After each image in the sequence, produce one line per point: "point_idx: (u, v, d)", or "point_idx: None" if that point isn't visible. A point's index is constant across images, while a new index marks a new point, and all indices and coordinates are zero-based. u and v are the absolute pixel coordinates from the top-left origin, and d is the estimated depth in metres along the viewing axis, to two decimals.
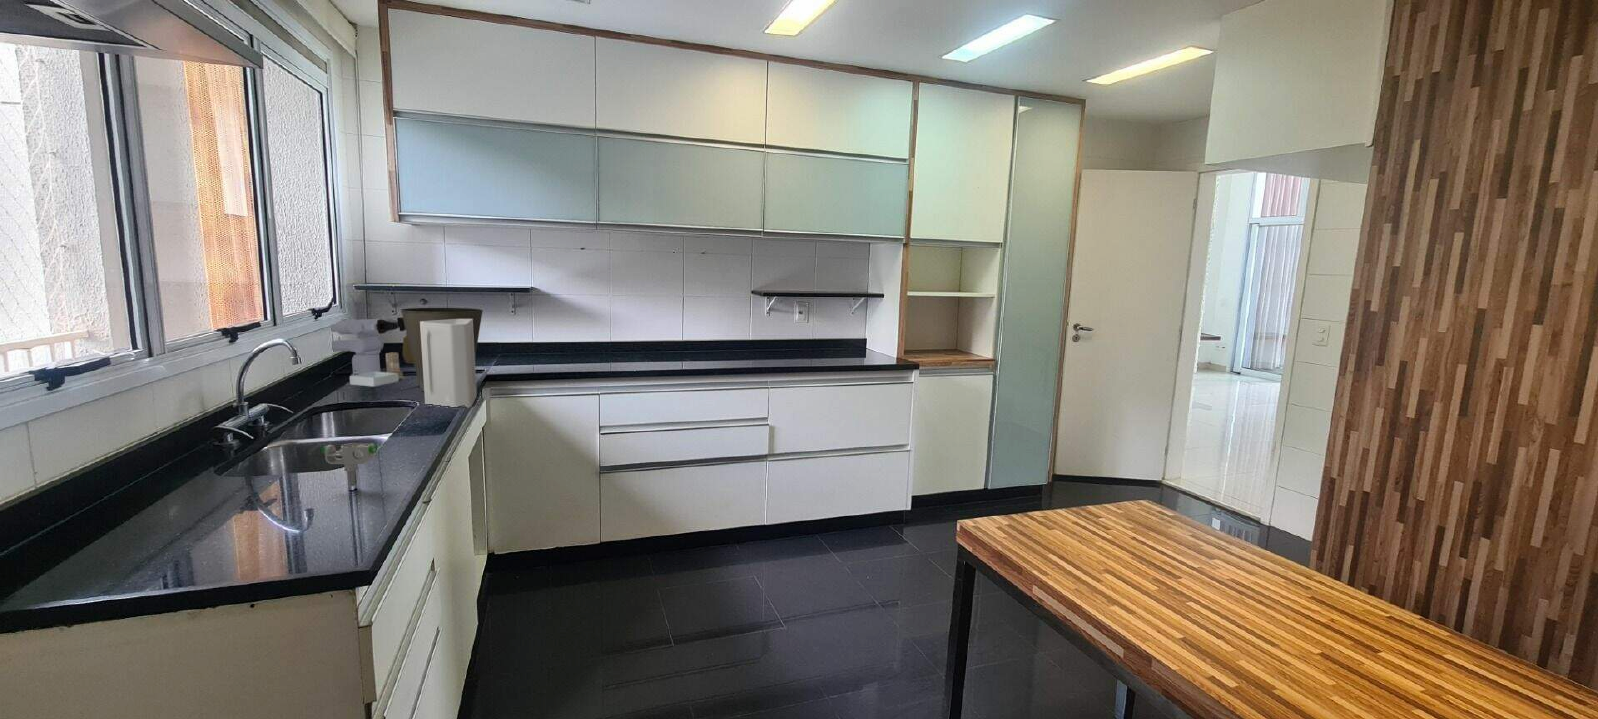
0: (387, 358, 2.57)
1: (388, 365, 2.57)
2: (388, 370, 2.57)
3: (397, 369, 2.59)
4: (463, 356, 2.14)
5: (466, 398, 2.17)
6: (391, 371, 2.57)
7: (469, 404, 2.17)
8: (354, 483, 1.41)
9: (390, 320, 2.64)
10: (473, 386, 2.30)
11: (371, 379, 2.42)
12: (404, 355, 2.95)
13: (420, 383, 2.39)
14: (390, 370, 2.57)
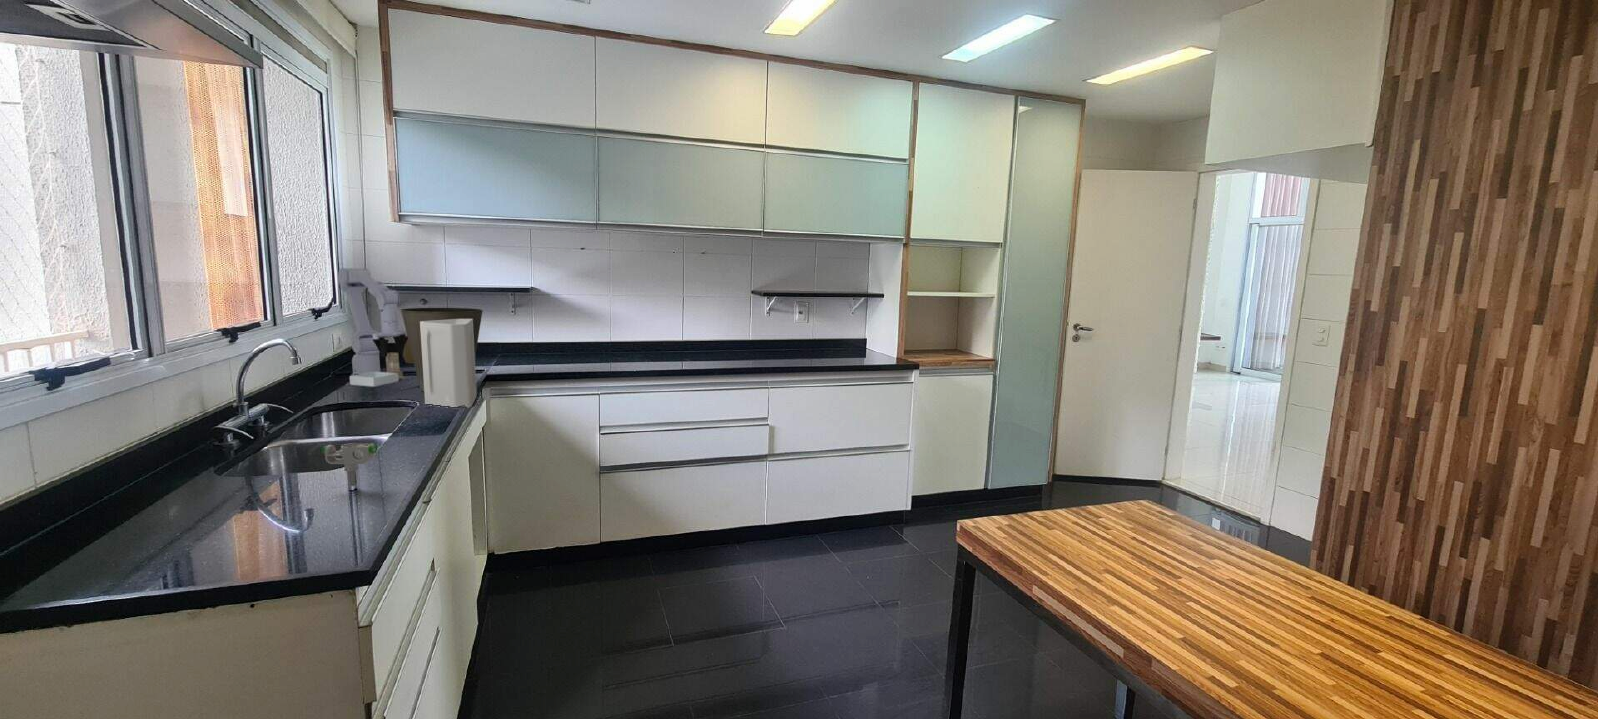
0: (387, 358, 2.57)
1: (388, 365, 2.57)
2: (388, 370, 2.57)
3: (397, 369, 2.59)
4: (463, 356, 2.14)
5: (466, 398, 2.17)
6: (391, 371, 2.57)
7: (469, 404, 2.17)
8: (354, 483, 1.41)
9: None
10: (473, 386, 2.30)
11: (371, 379, 2.42)
12: (404, 355, 2.95)
13: (420, 383, 2.39)
14: (390, 370, 2.57)
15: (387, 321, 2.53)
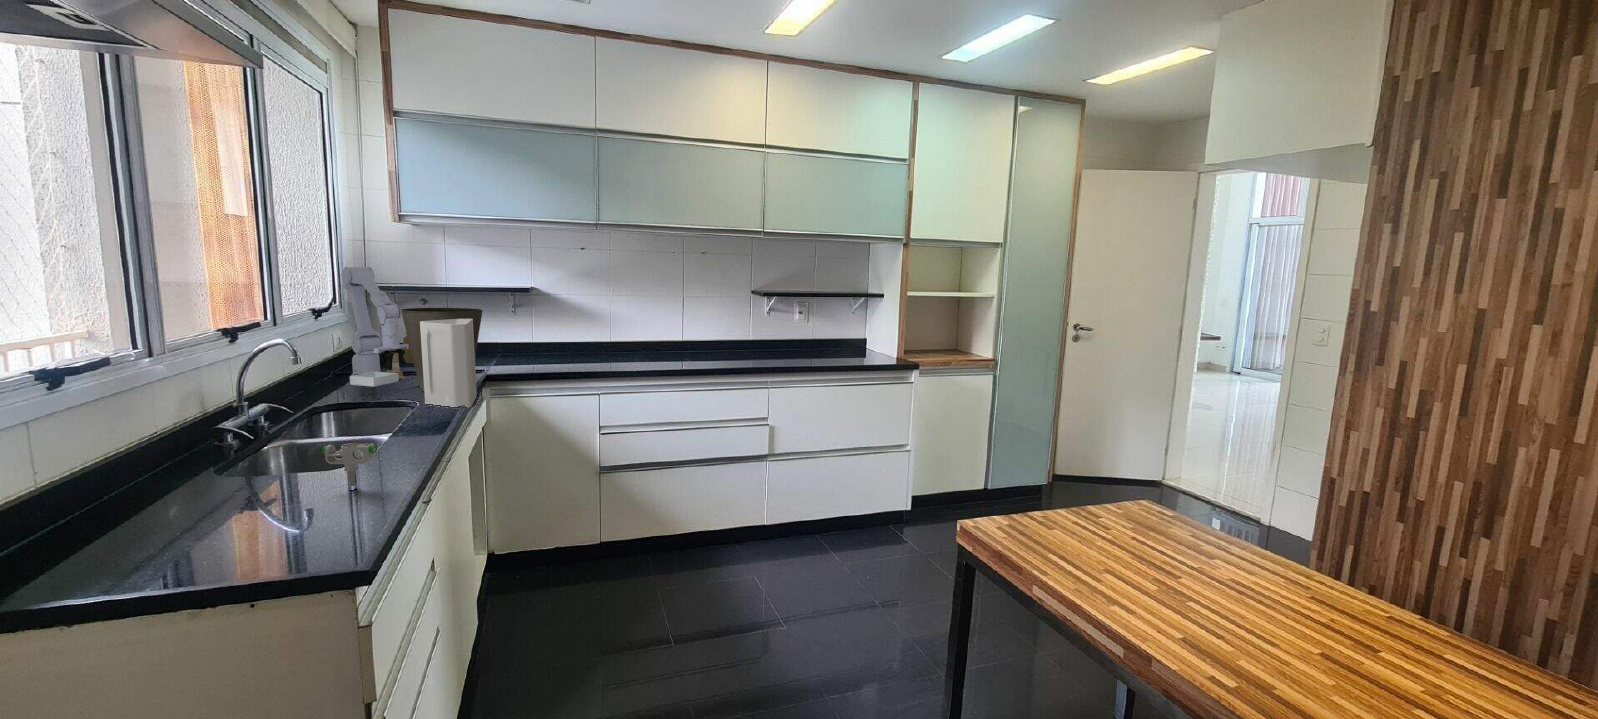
0: None
1: None
2: (388, 370, 2.57)
3: (397, 369, 2.59)
4: (463, 356, 2.14)
5: (466, 398, 2.17)
6: (391, 371, 2.57)
7: (469, 404, 2.17)
8: (354, 483, 1.41)
9: None
10: (473, 386, 2.30)
11: (371, 379, 2.42)
12: (404, 355, 2.95)
13: (420, 383, 2.39)
14: (390, 370, 2.57)
15: (388, 335, 2.54)
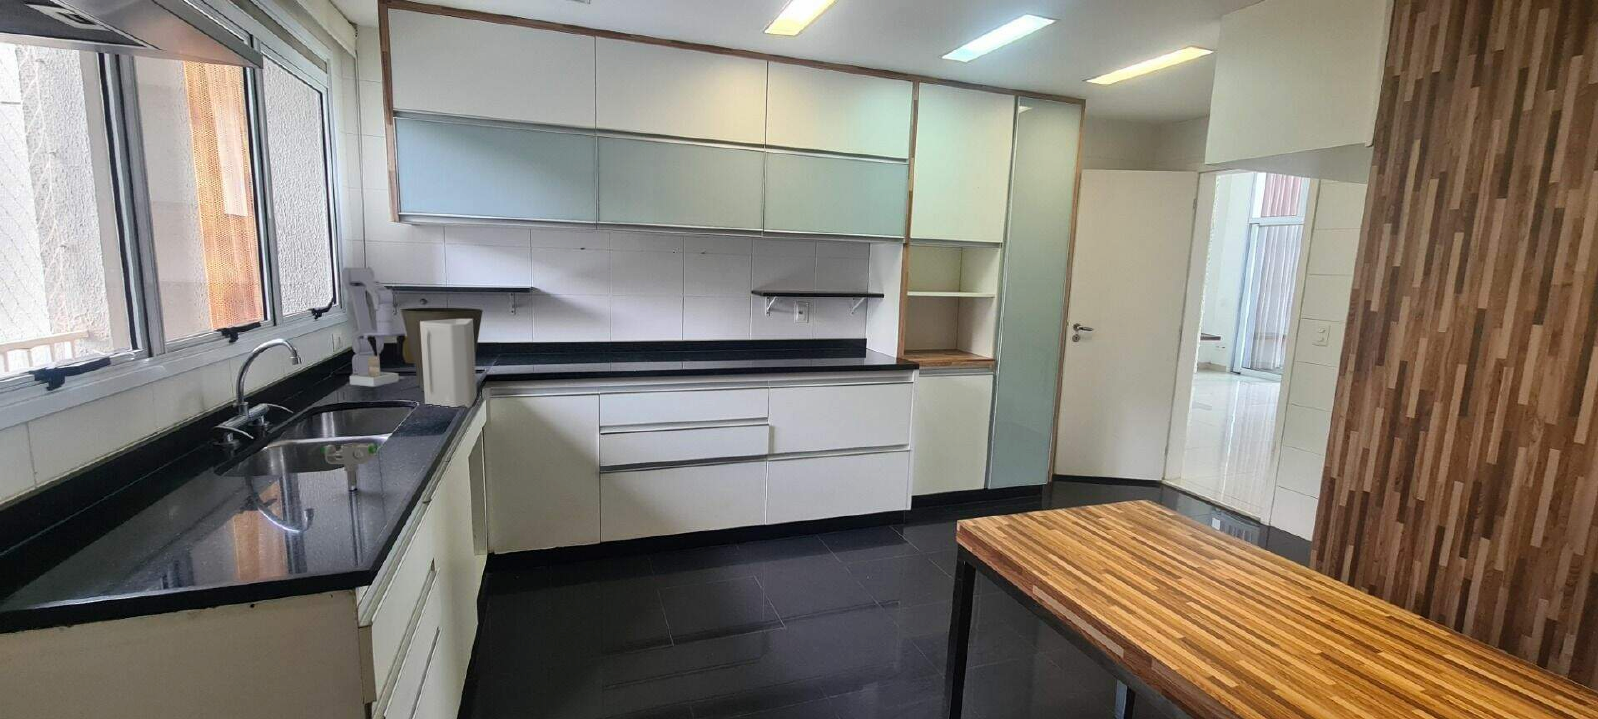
0: (368, 361, 2.47)
1: (369, 369, 2.47)
2: (369, 374, 2.47)
3: (376, 374, 2.47)
4: (463, 356, 2.14)
5: (466, 398, 2.17)
6: (370, 375, 2.46)
7: (469, 404, 2.17)
8: (354, 483, 1.41)
9: None
10: (473, 386, 2.30)
11: (371, 379, 2.42)
12: (404, 355, 2.95)
13: (420, 383, 2.39)
14: (369, 374, 2.47)
15: (378, 321, 2.50)
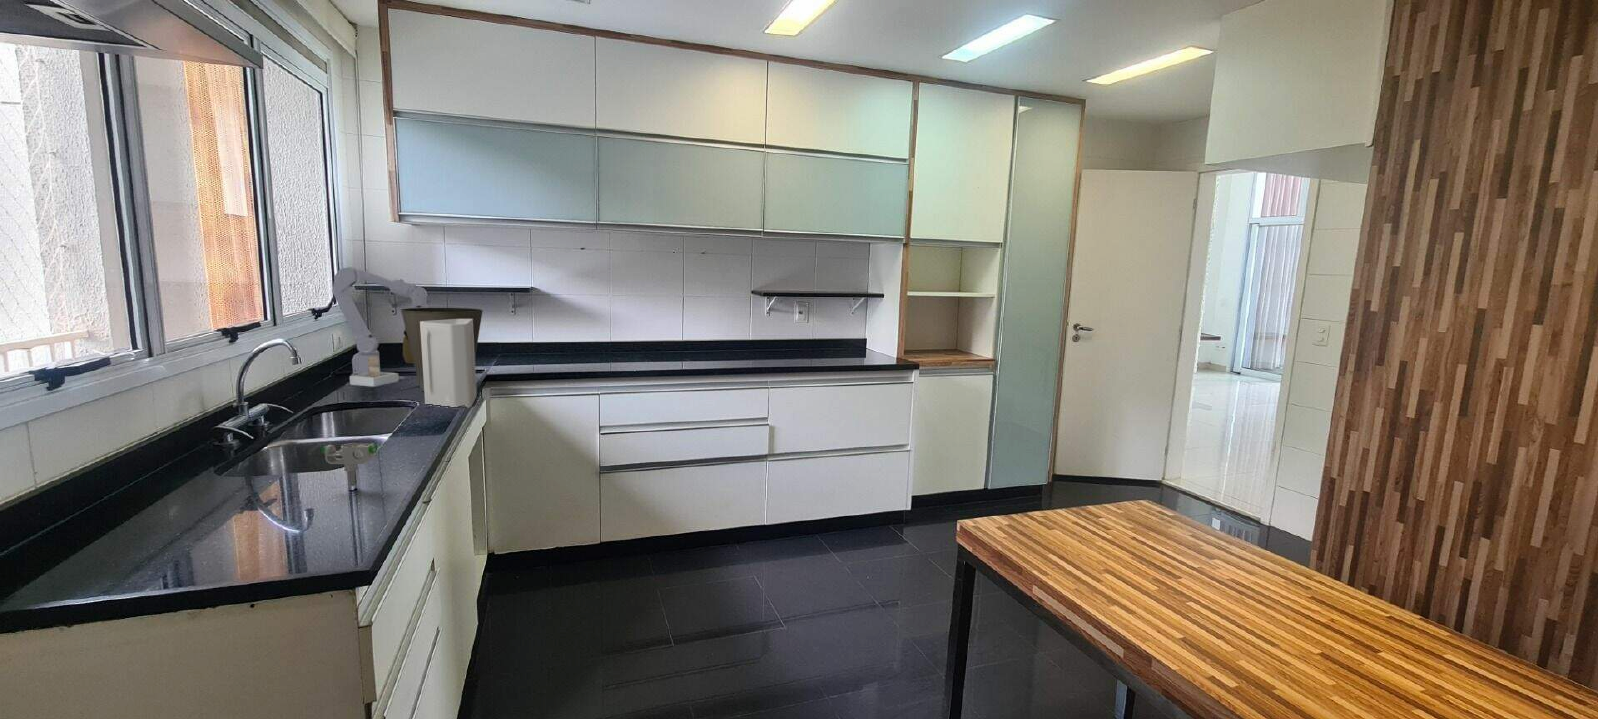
0: (368, 361, 2.47)
1: (369, 369, 2.47)
2: (369, 374, 2.47)
3: (376, 374, 2.47)
4: (463, 356, 2.14)
5: (466, 398, 2.17)
6: (369, 375, 2.46)
7: (469, 404, 2.17)
8: (354, 483, 1.41)
9: None
10: (473, 386, 2.30)
11: (371, 379, 2.42)
12: (404, 355, 2.95)
13: (420, 383, 2.39)
14: (369, 374, 2.47)
15: None
